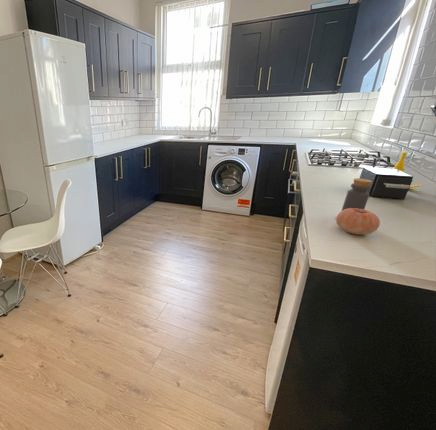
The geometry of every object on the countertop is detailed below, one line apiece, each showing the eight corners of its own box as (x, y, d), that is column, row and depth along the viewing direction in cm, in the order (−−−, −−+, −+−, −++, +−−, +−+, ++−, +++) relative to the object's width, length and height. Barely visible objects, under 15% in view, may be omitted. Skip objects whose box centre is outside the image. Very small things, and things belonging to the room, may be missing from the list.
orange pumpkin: (383, 240, 86) (393, 216, 83) (344, 238, 88) (352, 214, 85) (361, 226, 96) (369, 204, 93) (326, 224, 97) (333, 202, 94)
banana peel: (392, 181, 148) (404, 149, 142) (420, 191, 131) (436, 156, 125) (357, 179, 151) (367, 148, 145) (380, 189, 134) (393, 154, 128)
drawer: (410, 201, 116) (418, 181, 113) (376, 197, 120) (383, 179, 117) (390, 189, 132) (397, 172, 128) (360, 186, 136) (366, 170, 132)
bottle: (335, 216, 103) (348, 177, 98) (353, 218, 102) (367, 178, 97) (344, 223, 98) (358, 181, 93) (363, 224, 97) (378, 182, 91)
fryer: (404, 199, 122) (413, 176, 118) (368, 195, 126) (376, 173, 122) (388, 189, 134) (396, 169, 130) (356, 187, 138) (363, 167, 135)
